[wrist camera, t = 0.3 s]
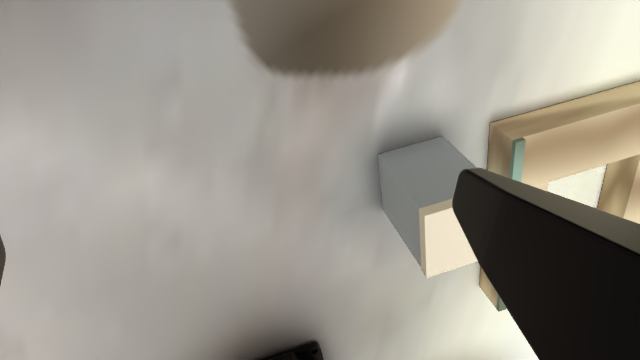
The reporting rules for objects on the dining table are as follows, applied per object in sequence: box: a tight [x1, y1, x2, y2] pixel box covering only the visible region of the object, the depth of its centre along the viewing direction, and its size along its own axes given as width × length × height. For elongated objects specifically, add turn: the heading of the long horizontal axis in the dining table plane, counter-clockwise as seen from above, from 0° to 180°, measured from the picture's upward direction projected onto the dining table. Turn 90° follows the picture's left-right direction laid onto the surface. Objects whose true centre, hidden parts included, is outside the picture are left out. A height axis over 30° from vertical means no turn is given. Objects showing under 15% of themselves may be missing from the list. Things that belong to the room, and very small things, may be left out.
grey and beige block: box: [378, 136, 478, 278], centre depth 25 cm, size 4×4×6 cm
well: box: [480, 81, 640, 311], centre depth 31 cm, size 14×12×2 cm
